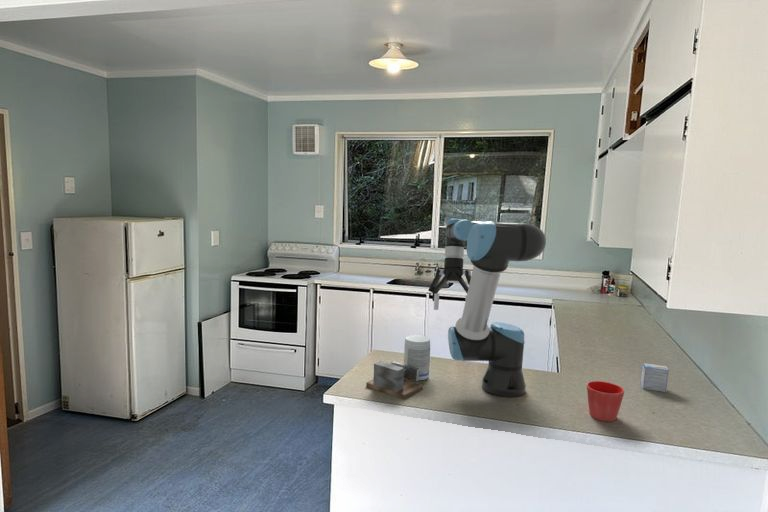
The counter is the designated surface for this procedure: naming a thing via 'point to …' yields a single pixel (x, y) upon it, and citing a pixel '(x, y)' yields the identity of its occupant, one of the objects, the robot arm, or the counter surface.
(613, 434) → the counter surface
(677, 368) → the counter surface
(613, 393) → the flower pot
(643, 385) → the medicine box
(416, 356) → the supplement tub
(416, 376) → the gauge plunger
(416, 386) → the gauge bench
